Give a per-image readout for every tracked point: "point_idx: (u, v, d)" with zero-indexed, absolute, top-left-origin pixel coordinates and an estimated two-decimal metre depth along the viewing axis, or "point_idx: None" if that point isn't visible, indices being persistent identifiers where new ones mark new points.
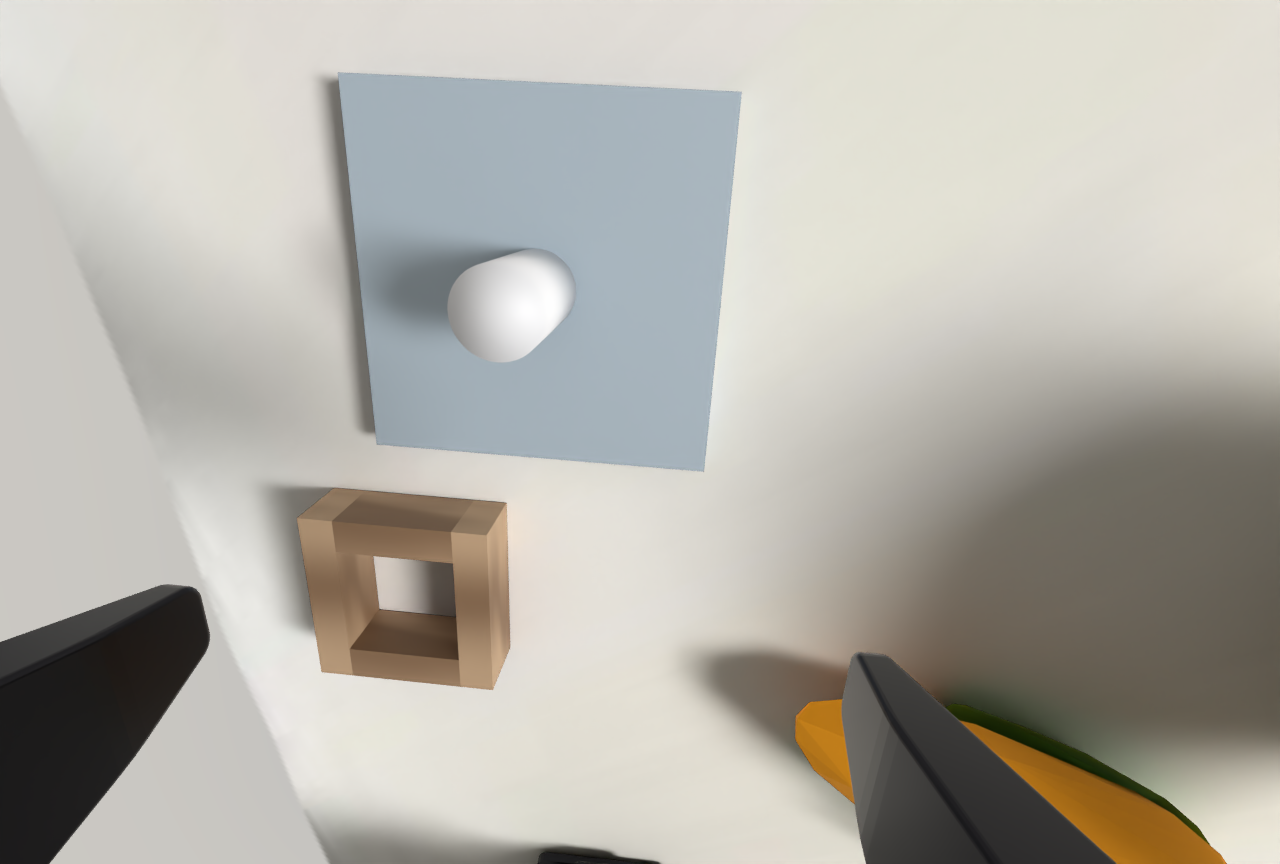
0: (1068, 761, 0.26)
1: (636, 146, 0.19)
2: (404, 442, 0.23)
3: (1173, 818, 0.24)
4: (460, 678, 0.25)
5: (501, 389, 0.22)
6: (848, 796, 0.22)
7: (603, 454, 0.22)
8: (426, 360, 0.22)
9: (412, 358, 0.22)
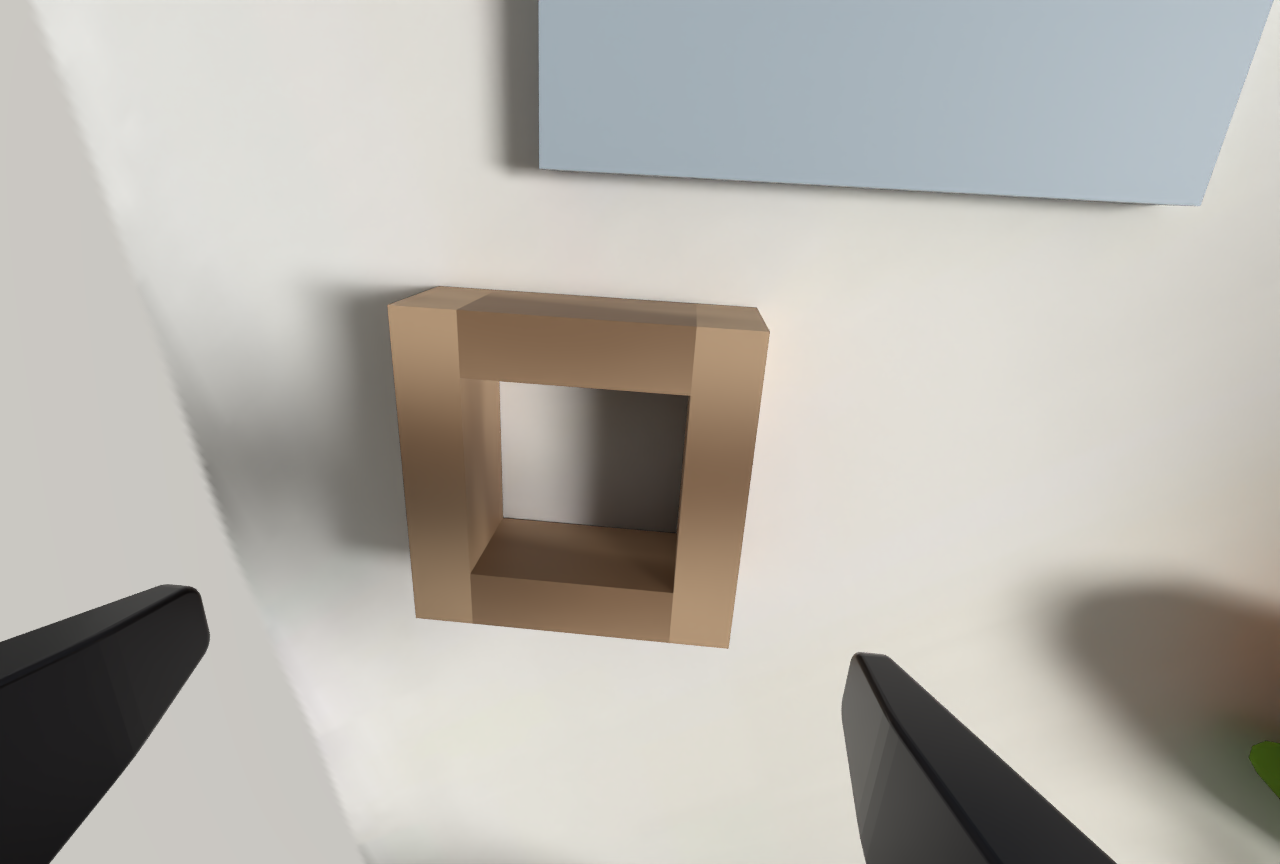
0: None
1: None
2: (595, 161, 0.12)
3: None
4: (670, 627, 0.14)
5: (810, 27, 0.11)
6: None
7: (997, 174, 0.11)
8: None
9: None
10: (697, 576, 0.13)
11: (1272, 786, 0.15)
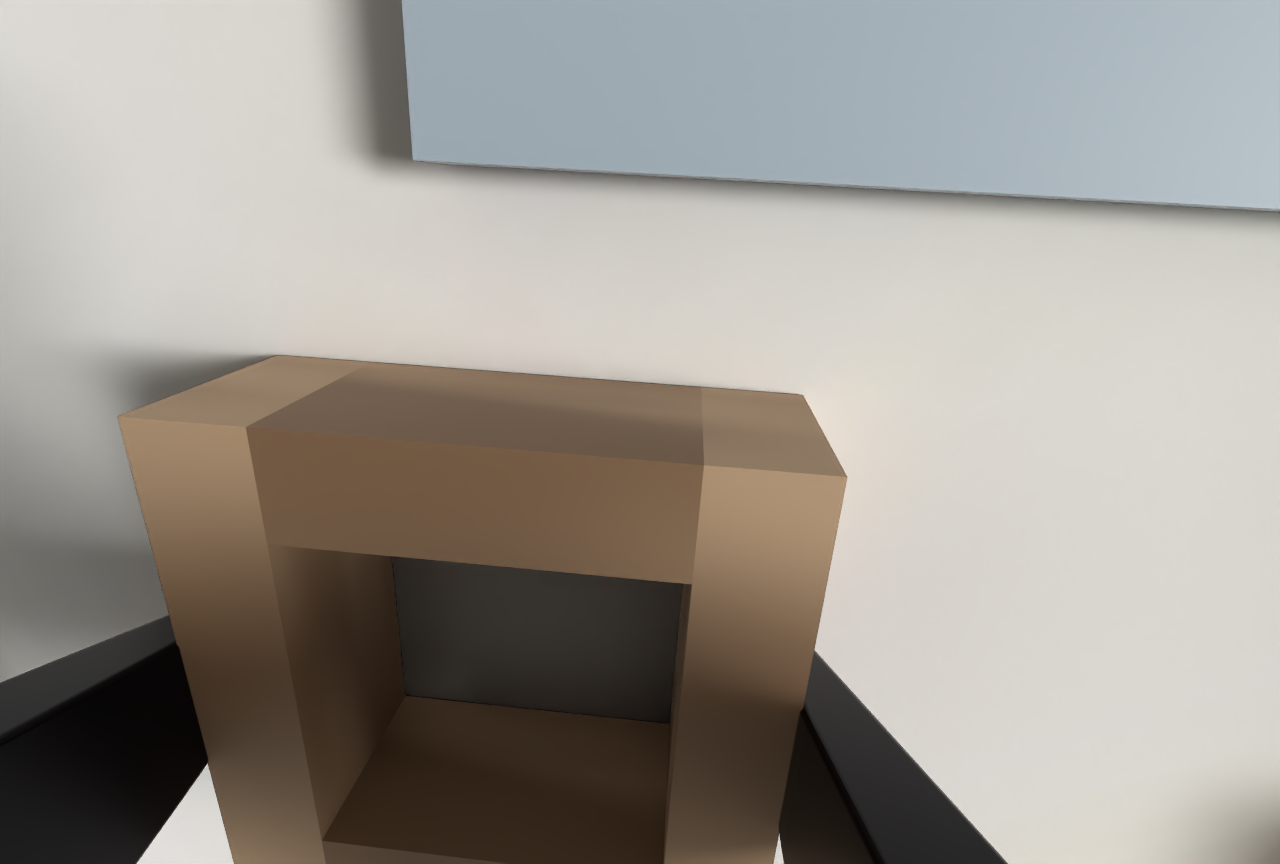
0: None
1: None
2: (515, 146, 0.06)
3: None
4: None
5: None
6: None
7: None
8: None
9: None
10: (703, 860, 0.08)
11: None
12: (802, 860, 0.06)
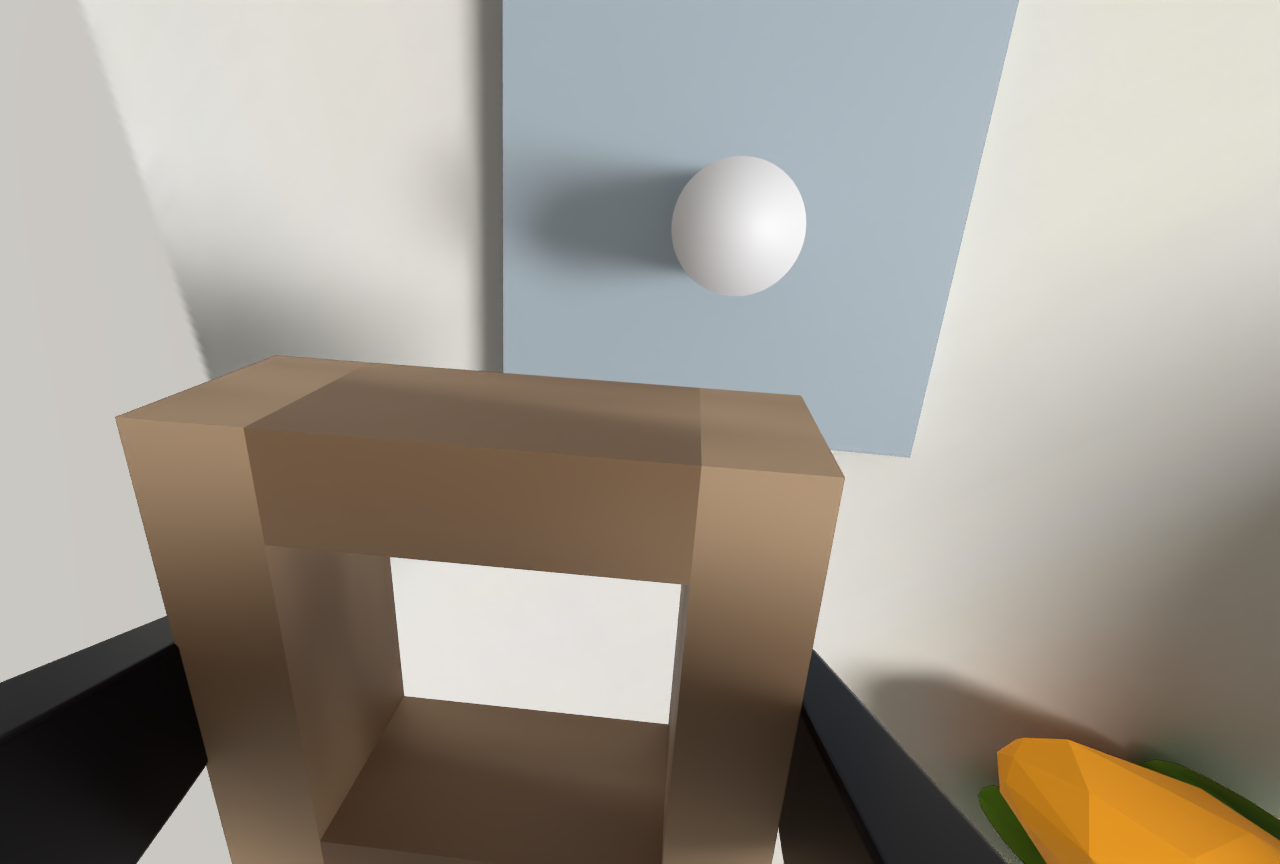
0: None
1: (879, 36, 0.15)
2: None
3: None
4: None
5: (667, 350, 0.18)
6: (1064, 860, 0.18)
7: None
8: (577, 312, 0.17)
9: (559, 310, 0.18)
10: (701, 861, 0.08)
11: (991, 817, 0.22)
12: (802, 860, 0.06)
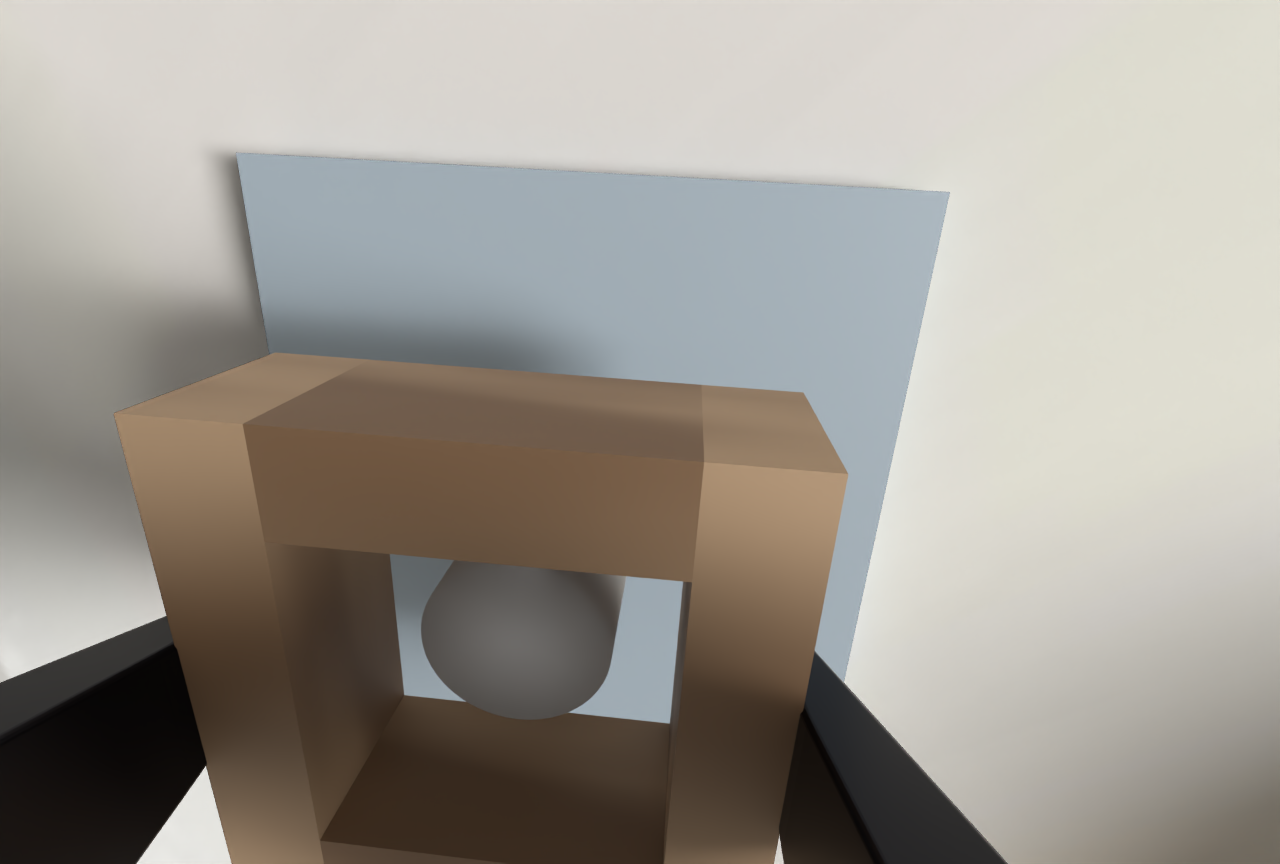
0: None
1: (753, 279, 0.11)
2: None
3: None
4: None
5: None
6: None
7: None
8: (398, 588, 0.14)
9: None
10: (703, 860, 0.08)
11: None
12: (802, 860, 0.06)
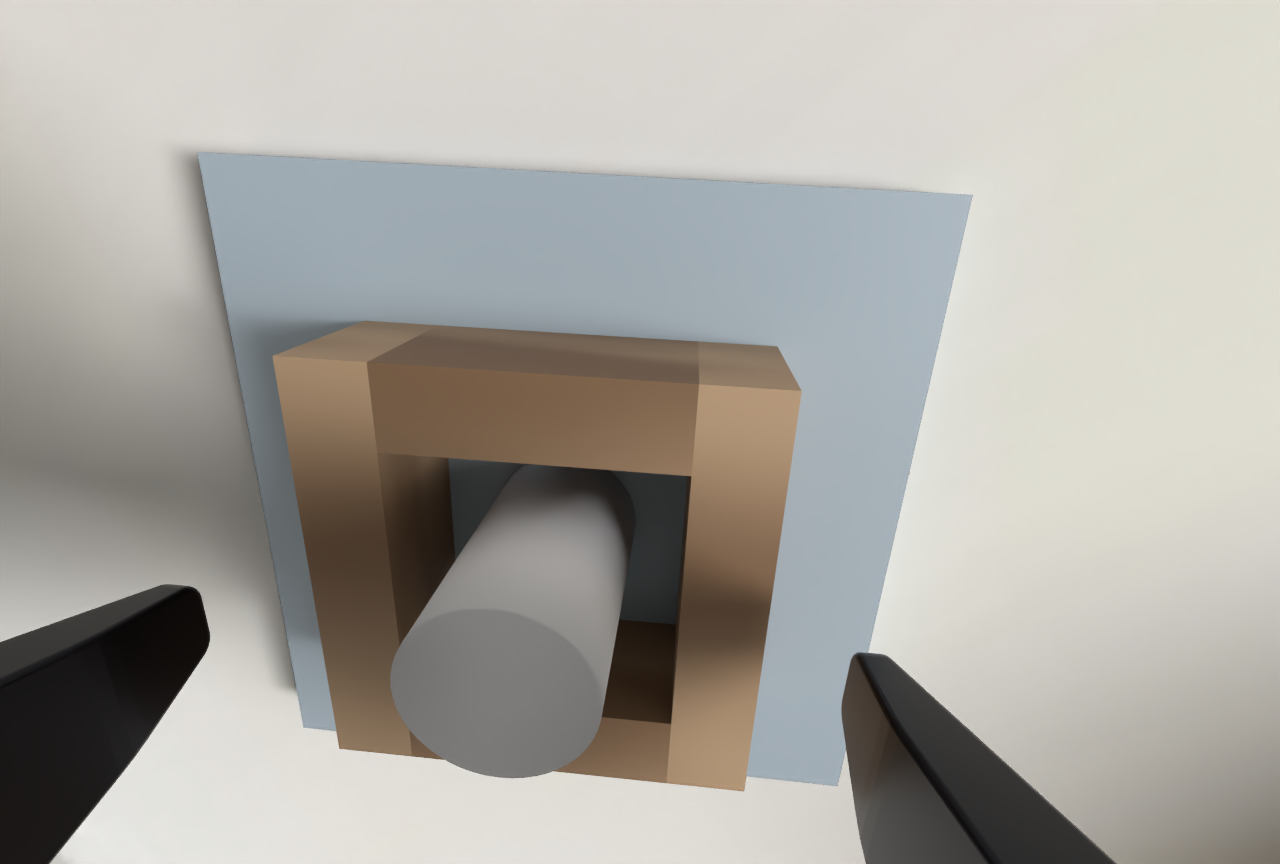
0: None
1: (759, 290, 0.10)
2: None
3: None
4: (668, 763, 0.10)
5: None
6: None
7: None
8: None
9: None
10: (702, 704, 0.10)
11: None
12: None
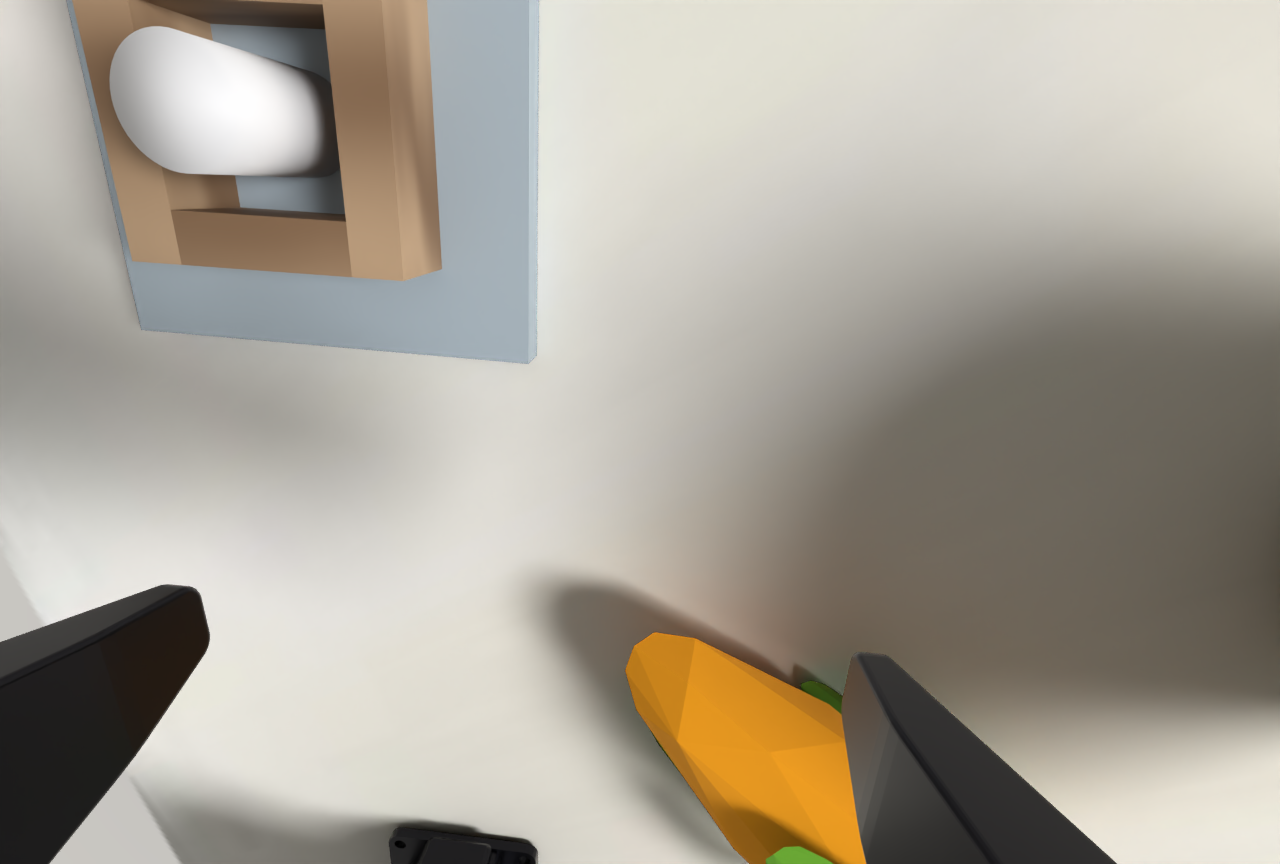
0: None
1: None
2: (173, 327, 0.19)
3: None
4: (351, 261, 0.15)
5: None
6: (666, 748, 0.19)
7: (408, 342, 0.18)
8: None
9: None
10: (363, 202, 0.15)
11: None
12: None
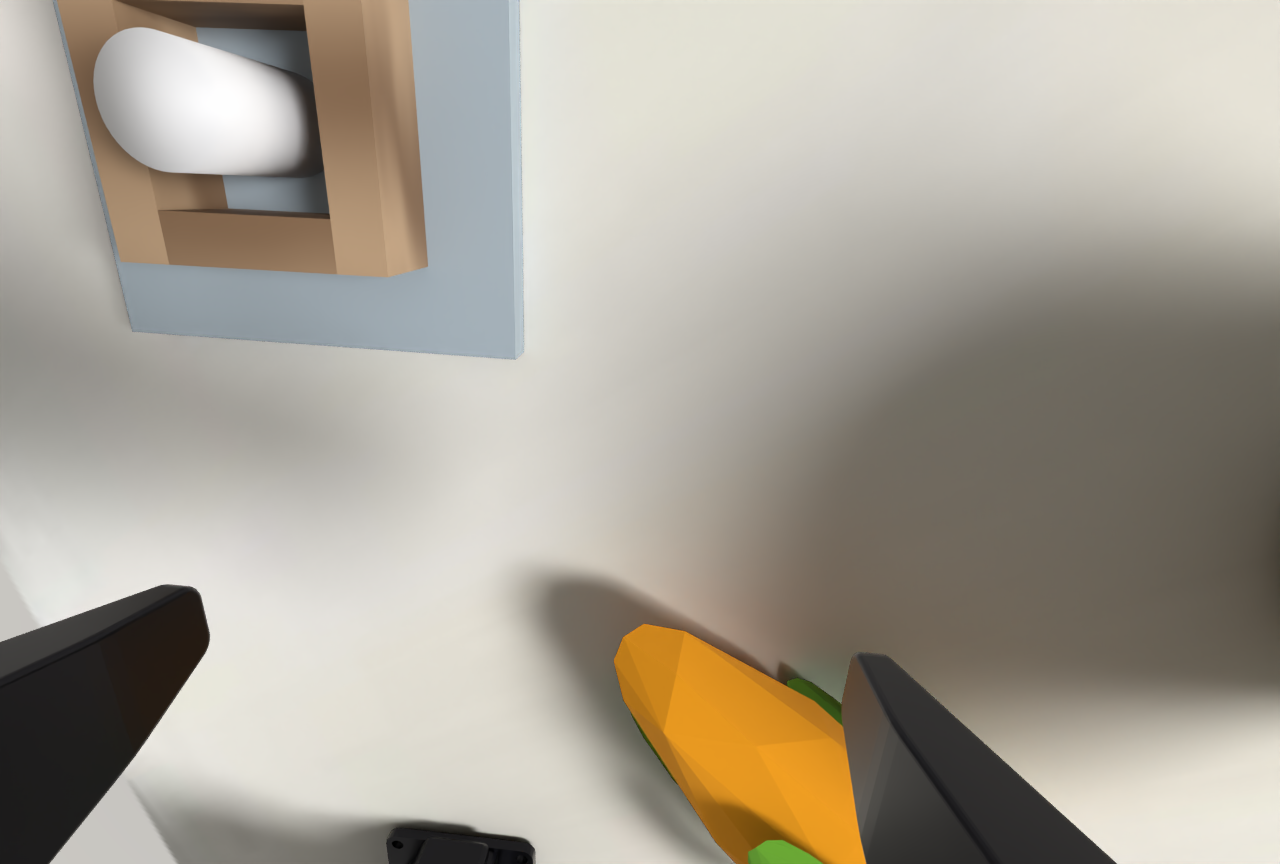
0: None
1: None
2: (164, 328, 0.19)
3: None
4: (337, 259, 0.15)
5: None
6: (652, 740, 0.19)
7: (396, 339, 0.19)
8: None
9: None
10: (346, 199, 0.15)
11: None
12: None
